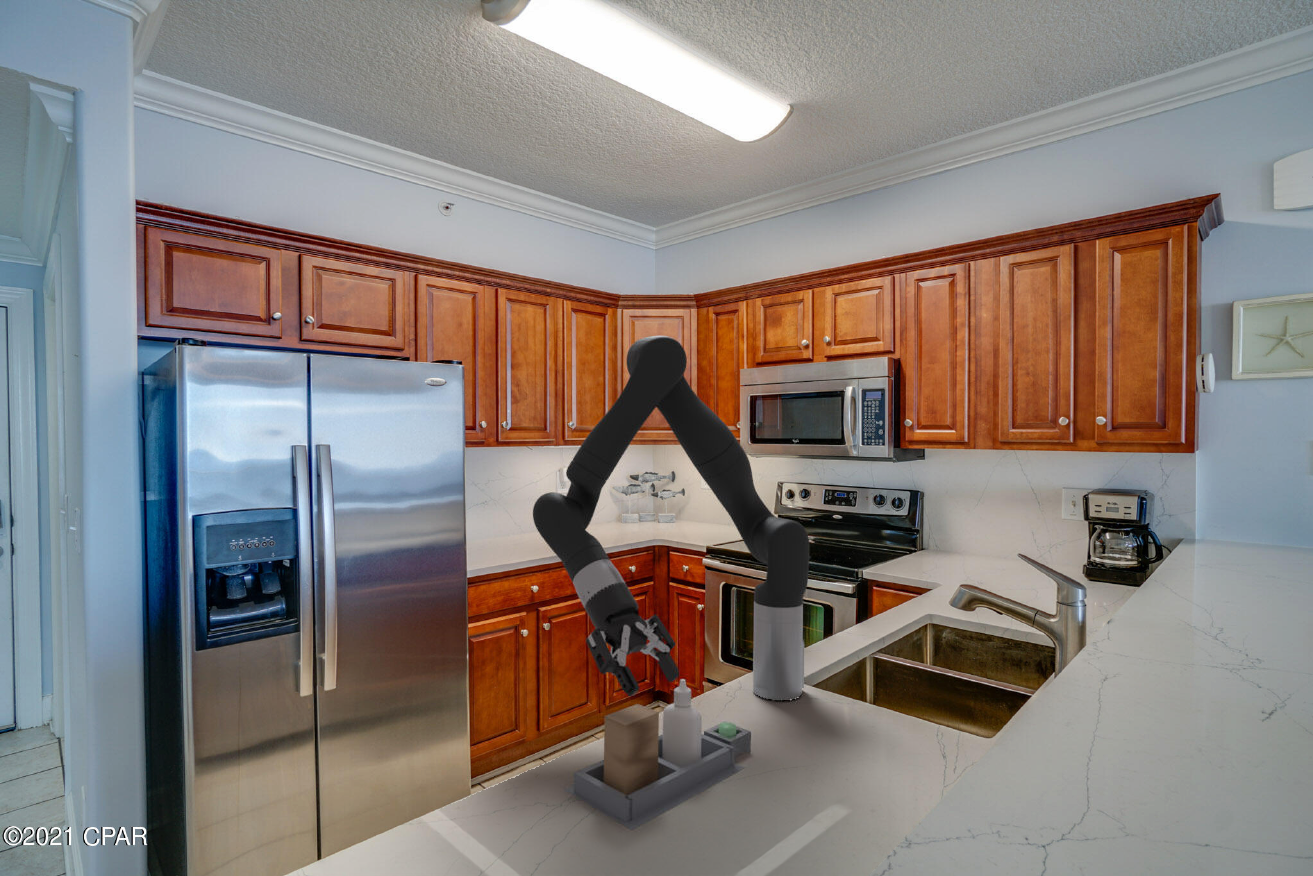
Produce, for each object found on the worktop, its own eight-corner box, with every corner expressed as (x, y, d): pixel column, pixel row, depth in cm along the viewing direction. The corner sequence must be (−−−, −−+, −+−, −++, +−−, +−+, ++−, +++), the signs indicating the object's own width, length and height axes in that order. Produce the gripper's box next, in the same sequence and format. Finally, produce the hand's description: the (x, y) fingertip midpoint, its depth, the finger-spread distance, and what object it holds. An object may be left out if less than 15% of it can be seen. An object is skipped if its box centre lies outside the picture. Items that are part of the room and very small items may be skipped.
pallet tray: (676, 748, 103) (677, 722, 103) (744, 778, 94) (745, 749, 94) (563, 800, 87) (563, 769, 87) (631, 842, 78) (632, 808, 78)
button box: (724, 747, 103) (724, 721, 103) (750, 758, 100) (750, 731, 100) (703, 757, 100) (704, 731, 100) (730, 769, 96) (730, 741, 96)
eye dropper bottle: (686, 753, 98) (687, 671, 98) (704, 771, 93) (705, 684, 93) (659, 759, 96) (660, 675, 96) (676, 776, 91) (677, 688, 91)
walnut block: (636, 777, 91) (637, 703, 91) (657, 788, 88) (658, 712, 88) (603, 793, 86) (604, 716, 86) (624, 805, 83) (625, 725, 84)
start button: (725, 739, 102) (726, 720, 102) (739, 744, 100) (739, 726, 100) (715, 744, 100) (715, 725, 100) (728, 750, 98) (729, 731, 98)
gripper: (581, 587, 99) (633, 684, 91) (648, 575, 110) (700, 661, 101) (558, 616, 103) (607, 712, 95) (625, 601, 113) (674, 687, 105)
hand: (655, 685), depth 98 cm, fingers open, 8 cm apart
